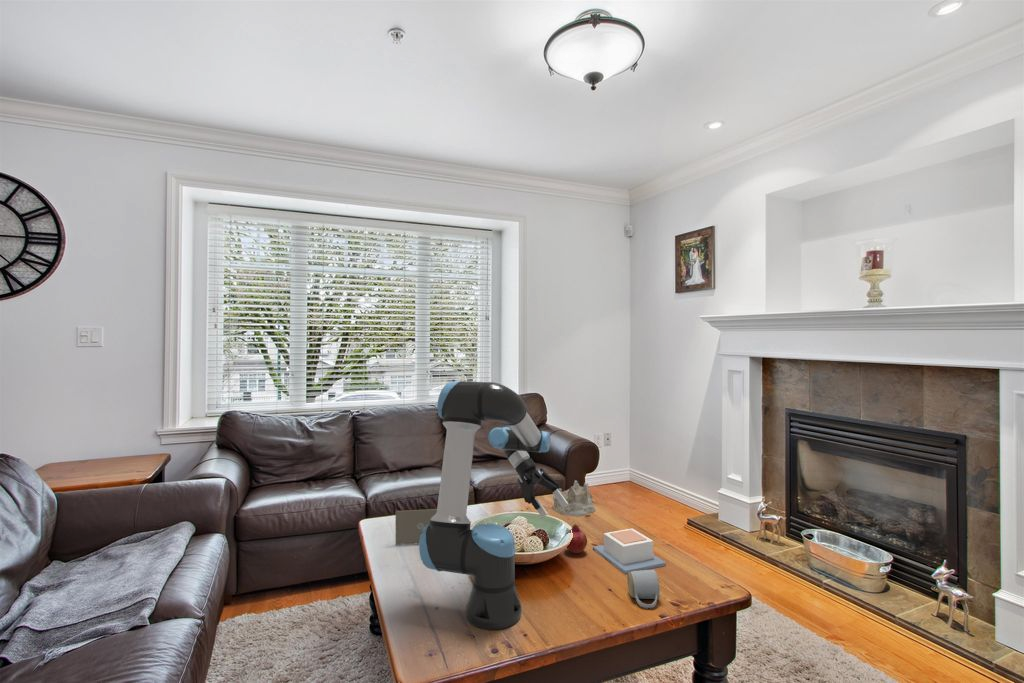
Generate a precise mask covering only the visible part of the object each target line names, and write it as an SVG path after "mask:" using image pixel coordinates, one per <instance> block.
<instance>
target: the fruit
mask: <svg viewBox="0 0 1024 683" xmlns="http://www.w3.org/2000/svg"><path fill="white" fill-rule="evenodd" d="M571 530H572V533H573V538H572V540H571V542H570V544H569V545H568V546H567V548H566V549H568V551H569V552H571V553H573V554H579V553H581V552H583V551H584V550H585V549H586V548H587V546H588V545H587V544H588V538H587V535H586V533H585V532H584V530H582V529H580V528H579V526H578V524H577V523H576V524H573V525H572V528H571ZM571 530H570V529H569V530H567V532H566V533H565V535H566V534H568V533H571Z"/></svg>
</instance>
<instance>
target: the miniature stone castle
mask: <svg viewBox="0 0 1024 683" xmlns="http://www.w3.org/2000/svg"><path fill="white" fill-rule="evenodd" d="M558 489H559V491H560V492H561V494H562V495H563V497H564V498H565V500H566V501H567V502H568V504H567V505H566V506H565V507H562V506H561V505H560V503H559V502H558V500H557V499H556V498H555V496H554V495H552V500H553V510H554V511H555V512H557V514H559V515H564V516H566V517H567V516H568V517H584V516H586V515H589V514H593V513H594V512H596V508H595V505H594V504H593V495H592V493H591V491H590V489H589V483H587V482H584V483H583V486H582V485H581V486H580V484H579V482H578V480H574V482H573V485H572V486H570V488H568V489H567V490H562V488H560V487H559V488H558Z"/></svg>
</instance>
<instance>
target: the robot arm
mask: <svg viewBox="0 0 1024 683" xmlns="http://www.w3.org/2000/svg"><path fill="white" fill-rule="evenodd" d="M436 405H437V406H436V408H437V414H438V416H439V418H440V419H442V425H443V427H445V429H446V434H445V442H444V443H445V444H444V451H443V458H442V465H441V466H442V467H441V475H440V483H439V493H438V499H437V507H436V509H437V513H436V514H435V515H434V516H433V517H432V518H431V520H430V524H428V525H426V526H425V527H424V528H423V530H422V534H421V536H420V541H419V544H418V549H419V550H418V551H419V557H420V560H421V562H422V565H424V566H425V567H426V568H427V569H430V570H435V571H437V572H447V573H452V574H459V575H467V576H471V578H472V586H471V589H470V594H469V596H468V600H467V602H466V605H465V606H466V607H465V608H466V609H465V617H466V619H467V621H468V622H469V623H470V624H471V625H472V626H474V627H477V628H479V629H483V630H502V629H506V628H509V627H511V626H513V625H515V624H516V623H517V622H518V621H519V620H520V619H521V616H522V604H521V601H520V598H519V594H518V591H517V588H516V585H515V584H516V583H515V582H516V581H515V580H516V578H515V577H516V575H515V573H516V572H515V570H516V569H515V566H516V565H515V561H516V560H515V559H516V558H515V556H516V554H515V553H516V547H515V537H514V534H513V532H511V531H510V530H509V529H508V528H507V527H505V526H503V525H500V524H497V523H496V524H495V523H486V524H485V523H479V524H477V525H475V526H474V527H473V528H472V529H471V522H472V521H470V519H469V518H468V516H467V511H468V504H469V494H470V484H471V483H470V482H471V474H472V465H473V464H472V463H473V457H474V447H475V438H476V436H475V435H476V432H478V431H479V430H480V429H481V427H482V421H483V422H485V421H487V422H488V421H489V422H500V423H501V424H503V425H505V426H503V427H498V426H497V427H494V428H493V429H491V430H490V432H489V433H488V436H487V437H488V438H487V439H488V442H489V445H490V446H491V447H492V448H494V449H496V450H500V451H502V452H503V454H504V455H505V457H506V459H507V460H508V461H509V463H510V464H511V465H512V467H513V469H515V472H516V473H517V475H518V476H519V477H518V479H517V482H518V483H519V485H520V489H521V492H522V496H523V499H524V502H525V503H526V504H528V505H530V504H531V505H532V506H533V507H534V509H535V510H536V512H538V514H539V516H540V517H541V519H543V518H545V517H546V516H547V515H548V513H549V512H548V511H547V510H546V508H545V507H544V506H543V505H542V502H541V501H540V500H539V498H537V497H536V492H535V485H541V486H543V487H544V488H546V489H548V490H549V491H551V492H552V496H555V498H556V499H557V500H558V502H559V503H560V505H561V506H562V507H565V506H566V505H567V504H568V502H567V501H566V500H565V498H564V497H563V495H562V494H561V492H560V491H559V488H560V487H561V484H560V483H559V482H558V481H557V480H555V479H554V478H553V477H552V476H550V475H549V474H548V473H547V472H546V471H545V470H544V468H542V467H541V468H540V469H539V470H538V469H537V468H536V467H537V465H536V463H535V462H534V460H533V458H531V457H530V454H529V453H530V452H532V453H548V452H549V450H550V447H551V434H550V432H548V431H544V430H539V428H538V426H536V424H535V422H534V420H533V419H532V417H531V416H530V415H529V413H528V407H527V405H526V402H525V401H524V400H523V398H522V397H521V396H520V394H518V393H517V392H515V391H514V390H512V389H511V388H509V387H507V386H506V385H504V384H501V383H497V382H494V381H487V382H486V381H470V380H469V381H465V380H464V381H463V380H459V381H449V382H448V383H446V384H445V385H444V386H443V387H442V388H441V390H440V393H439V395H438V399H437V404H436Z"/></svg>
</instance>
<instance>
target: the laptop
mask: <svg viewBox="0 0 1024 683" xmlns="http://www.w3.org/2000/svg"><path fill="white" fill-rule="evenodd" d="M436 513H437V508H430V509H428V508H427V509H409V510H396V511H395V513H394V514H395V546H402V545H401V544H413V545H416V544H415V543H419V541H420V536H421V534H422V530H423V528H424V527H425V526H426V525H428V524H430V520H431V518H432V517H433V516H434V515H435V514H436Z"/></svg>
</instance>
